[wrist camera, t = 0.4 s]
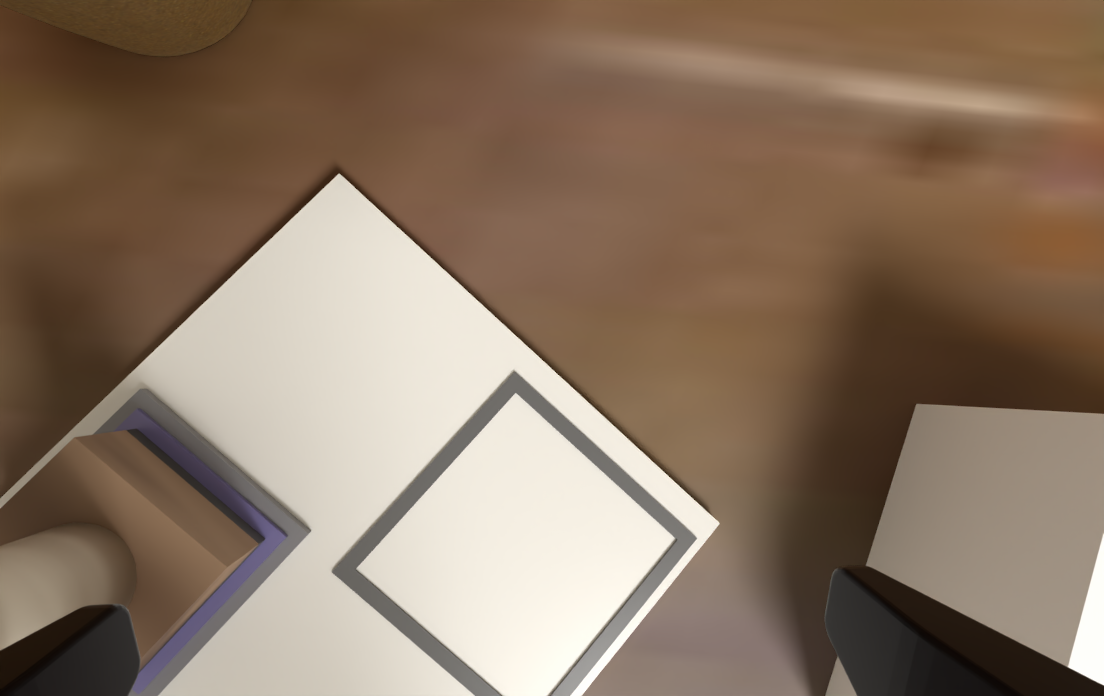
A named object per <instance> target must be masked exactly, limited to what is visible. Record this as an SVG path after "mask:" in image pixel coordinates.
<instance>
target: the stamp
mask: <svg viewBox="0 0 1104 696" xmlns="http://www.w3.org/2000/svg"><path fill="white" fill-rule="evenodd" d="M264 540H265V538H264V537H263V536H262V535H260V534H259V533H258V532H257V531H256V530H255V529H253V528H252V527H251V526H250V525H249V524H248V523H246V522H245V521H244V520H243V519H242V518H241V517H239V516H238V515H237V514H236V513H235V512H234V511H232V510H231V509H230V508H229V507H228V506H227V505H225V504H224V503H223V502H222V501H221V500H220V499H218V498H217V497H216V496H215V495H214V494H213V493H211V492H210V491H209V490H208V489H207V488H206V487H204V486H203V485H202V484H201V483H200V482H199V481H197V480H196V479H195V478H194V477H193V476H192V475H190V474H189V473H188V472H187V471H186V470H185V469H184V468H182V467H181V466H180V465H179V464H178V463H177V462H175V461H174V460H173V459H172V458H171V457H170V456H168V455H167V454H166V453H165V452H164V451H163V450H161V449H160V448H159V447H158V446H157V445H156V444H154V443H153V442H152V441H151V440H150V439H149V438H147V437H146V436H145V435H144V434H143V433H142V432H140V431H139V430H138V429H130V430H123V431H115V432H108V433H101V434H94V435H87V436H80V437H74V438H73V439H72V440H71V441H70V442H69V443H68V444H67V445H66V446H65V447H64V448H63V449H62V450H61V451H59V452H58V453H57V454H56V455H55V456H54V457H53V458H52V459H51V460H50V461H49V462H48V463H47V464H46V465H45V466H44V467H43V468H42V469H41V470H40V471H39V472H38V473H37V474H36V475H35V476H33V477H32V478H31V479H30V480H29V481H28V482H27V483H26V484H25V485H24V486H23V487H22V488H21V489H20V490H19V491H18V492H17V493H16V494H15V495H14V496H13V497H12V498H11V499H10V500H9V501H7V502H6V503H5V504H4V505H3V506H2V507H1V508H0V650H2V649H4V648H6V647H8V646H9V645H11V644H13V643H15V642H17V641H19V640H21V639H23V638H24V637H26V636H28V635H30V634H32V633H34V632H36V631H38V630H39V629H41V628H43V627H45V626H47V625H49V624H51V623H52V622H54V621H56V620H58V619H60V618H62V617H64V616H66V615H67V614H69V613H71V612H73V611H75V610H77V609H79V608H81V607H84V606H88V605H99V604H121V605H124V606H125V607H126V608H127V609H128V610H129V613H130V616H131V620H132V624H133V628H134V632H135V636H136V640H137V644H138V648H139V652H140V657H141V662H140V670H139V673H140V671H141V670H142V669H143V668H144V667H145V666H146V665H147V664H148V663H149V662H150V661H151V660H152V659H153V658H154V657H155V656H156V655H157V653H158V652H159V651H160V650H161V649H162V648H163V647H164V646H165V645H166V644H167V643H168V642H169V641H170V640H171V639H172V638H173V637H174V635H175V634H176V633H177V632H178V631H179V630H180V629H181V628H182V627H183V626H184V625H185V624H186V623H187V622H188V621H189V620H190V619H191V617H192V616H193V615H194V614H195V613H196V612H197V611H198V610H199V609H200V608H201V607H202V606H203V605H204V604H205V603H206V602H207V601H208V599H209V598H210V597H211V596H212V595H213V594H214V593H215V592H216V591H217V590H218V589H219V588H220V587H221V586H222V585H223V584H224V583H225V581H226V580H227V579H228V578H229V577H230V576H231V575H232V574H233V573H234V572H235V571H236V570H237V569H238V568H239V567H240V566H241V565H242V563H243V562H244V561H245V560H246V559H247V558H248V557H249V556H250V555H251V554H252V553H253V552H254V551H255V550H256V549H257V548H258V547H259V545H260V544H261V543H262V542H263V541H264Z"/></svg>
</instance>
